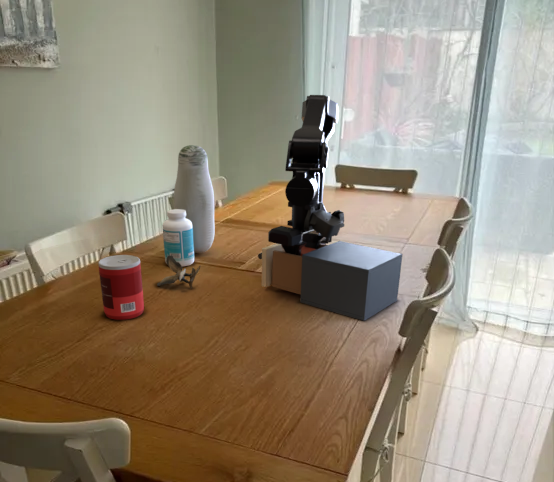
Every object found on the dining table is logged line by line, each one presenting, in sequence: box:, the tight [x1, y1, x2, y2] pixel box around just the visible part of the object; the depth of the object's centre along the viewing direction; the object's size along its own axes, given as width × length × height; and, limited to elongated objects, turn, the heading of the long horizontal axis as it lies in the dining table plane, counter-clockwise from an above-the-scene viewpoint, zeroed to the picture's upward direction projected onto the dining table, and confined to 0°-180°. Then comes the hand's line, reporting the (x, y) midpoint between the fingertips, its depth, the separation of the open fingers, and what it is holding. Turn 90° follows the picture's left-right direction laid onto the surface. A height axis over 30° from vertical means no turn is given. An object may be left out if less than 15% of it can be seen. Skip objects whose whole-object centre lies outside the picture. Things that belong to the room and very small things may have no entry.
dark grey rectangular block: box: [299, 240, 403, 322], centre depth 116 cm, size 16×15×11 cm
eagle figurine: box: [156, 255, 202, 290], centre depth 124 cm, size 8×7×9 cm
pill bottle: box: [161, 208, 195, 267], centre depth 138 cm, size 8×7×14 cm
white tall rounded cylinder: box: [173, 144, 216, 254], centre depth 145 cm, size 10×10×28 cm
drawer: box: [257, 243, 328, 295], centre depth 124 cm, size 19×13×9 cm
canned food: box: [98, 254, 145, 321], centre depth 108 cm, size 8×8×11 cm
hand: (302, 267), depth 123 cm, fingers closed on block, 5 cm apart
